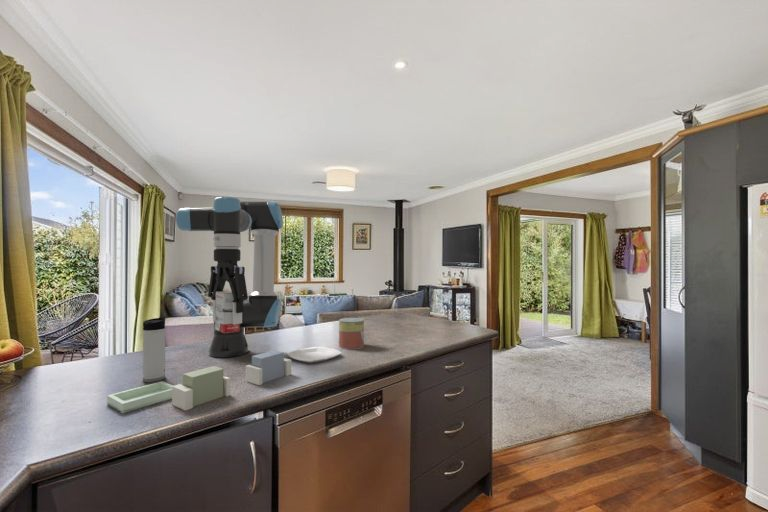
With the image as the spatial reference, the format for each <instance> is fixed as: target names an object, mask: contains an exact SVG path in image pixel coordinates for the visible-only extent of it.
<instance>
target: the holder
mask: <svg viewBox="0 0 768 512" xmlns="http://www.w3.org/2000/svg"><path fill="white" fill-rule="evenodd" d="M284 376H286V377H288V376H292V359H288V358H285V357H284ZM245 382H248V383H249V384H253V385H256V386H261V385H263V383H262V368H259V367H255V366H252V364H248V365H245ZM231 385H232V384H231V377H228V376H226V375H223V397H224V396H225V397H230V396H231V387H232V386H231ZM171 404H172V406H174V407H176V408H179V409H181V410H183V411H184V412H186V411H188V410H191V409H193V408H194V406H193V389H191V388H188V387H186V386H183V384H181V383H178V384H175V385H173V386H172V399H171Z"/></svg>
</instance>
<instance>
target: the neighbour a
mask: <svg viewBox="0 0 768 512" xmlns="http://www.w3.org/2000/svg"><path fill="white" fill-rule="evenodd" d="M223 376H224V368H221V367H220V366H215V365H214V366H213V365H212V366H209V367H204V368H201V369H196V370H192V371H190V372H185V373H183V374H182V385H183V386H186V387H188V388H191V389H193V407H197V406H199V405H202V404H205V403H208V402H211V401H214V400H217V399H221V398H223V397H224V395H223Z"/></svg>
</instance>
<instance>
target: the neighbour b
mask: <svg viewBox="0 0 768 512" xmlns="http://www.w3.org/2000/svg"><path fill="white" fill-rule="evenodd" d="M284 358H285V352H283V351H278V350H276V349H275V350H270V351H267V352H262V353H259V354H254V355H252V356H251V366H255V367H259V368H262V384H264V383H267V382H270V381H272V380H276V379H278V378H282V377H284V376H285V375H284Z"/></svg>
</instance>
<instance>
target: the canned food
mask: <svg viewBox="0 0 768 512" xmlns="http://www.w3.org/2000/svg"><path fill="white" fill-rule="evenodd" d="M364 336H365V319H364V318H361V317H343V318H340V319H338V348H340V349H342V350H359V349H362V348H364V347H365V337H364Z"/></svg>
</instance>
